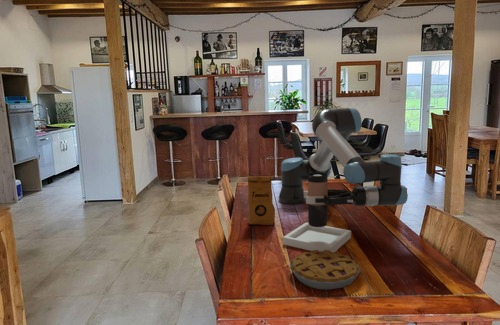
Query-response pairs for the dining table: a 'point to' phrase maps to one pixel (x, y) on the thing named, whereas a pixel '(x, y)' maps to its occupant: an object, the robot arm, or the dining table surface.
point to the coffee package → (260, 201)
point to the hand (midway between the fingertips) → (305, 197)
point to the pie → (324, 269)
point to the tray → (317, 238)
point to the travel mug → (317, 188)
